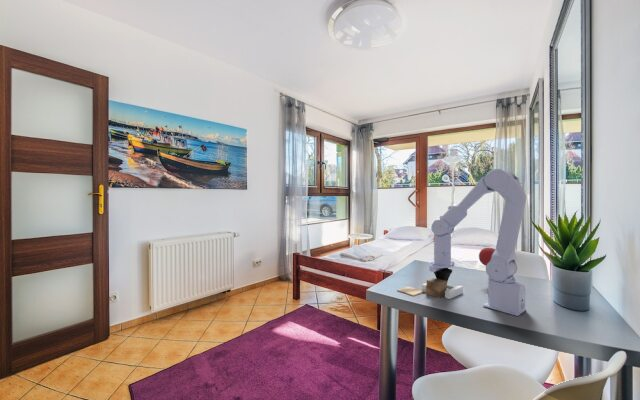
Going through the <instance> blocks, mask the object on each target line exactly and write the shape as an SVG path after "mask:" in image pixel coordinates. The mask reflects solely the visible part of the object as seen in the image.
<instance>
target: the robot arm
mask: <svg viewBox="0 0 640 400" xmlns="http://www.w3.org/2000/svg"><path fill="white" fill-rule="evenodd" d="M494 192H497V193H498V195H500V196H501V197H502V198H503V199H504V206H503V207H504V208H503V213H502V218H501V222H500V225H499V231H498V235H497V241H496V244H495V245H496V246H495V248H494V249H495V251H494V253H493V254H492V257H491V260H490V262H489V263H488V264H487V265H486V266H485V272H486V274H487V276H488V277H487V278H488V279H487V281H488V282H487V284H488V285H487V287H488V289H487V292H488V293H487V299H488V301H487V302H485V303H484V304H482V307H486V308H488V309H492V310H495V311H498V312H502V313H506V314H508V315H513V316H517V317H518V316H520V315H521V314H522V313H524V312H525V311H526V310H527V308H526V287H525V284H523V283H519V282H517V281H516V277H514V275H515V274H516V273H517V271H518V266H517V263H516V260H517V255H516V247H517V243H518V238H519V235H520V231H521V225H522V220H523V215H524V212H525V208H526V202H527V194H526V192H525V190H524V188H523V185H522V184H521V181H520V178H519V177H518V176H517V175H515V174H514V173H513V172H511V171H508V170H502V169H500V168H494V169H491V170H489V171H487V173H486V174H485V176H482V177H480V179H479V180H478V182H477V183H476V184H475V185H474V187H473V188H472V189H471V190H470V191H469V192H468V193H467V195H466V196H464V197H463V199H462V200H461V201H460V202H459V203H457V204H452V205H449V206H448V207H447V211H446V212H444V214H443V215H440V216H439V219H435V220H434V221H433V223H432V224H431V228H430V229H431V231H432V234H433V237H434V238H433V261H431V264H430V265H429V268H428V269H429V272H431V273H433V274H434V276H435V278H436V279H440V280H445V281H447V283H448V281H449V278H450V276H451V274H452V273H453V269H451V267H452V268H454V267H455V261H453V260H452V241H451V240H452V234H453V232H454V230H455V227H456V226H458V225H459V224H460V223H461V222H462V221H463V220H464V219H465V218H466V217H467V215H468V209H470V208H471V207H473V205H475V204H476V202H478V201H479V200H480V199H481V198H482V197H483V196H485V195H486V194H491V193H494Z"/></svg>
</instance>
